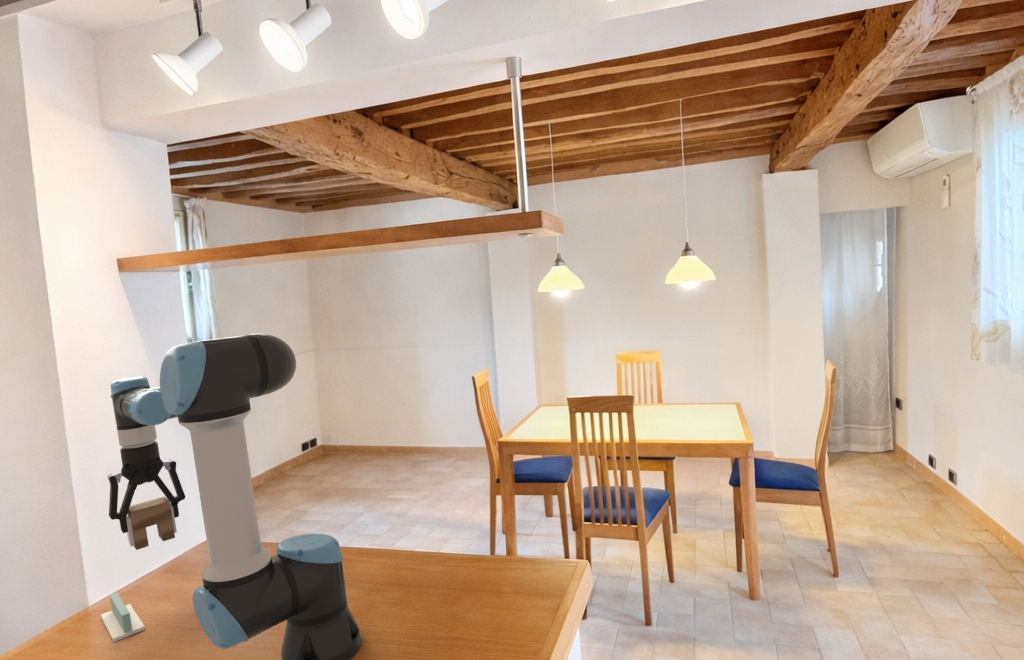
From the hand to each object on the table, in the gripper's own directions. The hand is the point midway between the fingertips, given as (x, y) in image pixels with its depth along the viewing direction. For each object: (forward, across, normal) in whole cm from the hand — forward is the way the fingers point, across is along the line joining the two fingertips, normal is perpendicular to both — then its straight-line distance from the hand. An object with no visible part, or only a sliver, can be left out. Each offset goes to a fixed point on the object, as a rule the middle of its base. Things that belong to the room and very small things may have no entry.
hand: (153, 537), depth 145 cm
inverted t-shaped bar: (+17, +8, 0) cm, 19 cm away
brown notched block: (+1, 0, 0) cm, 1 cm away
